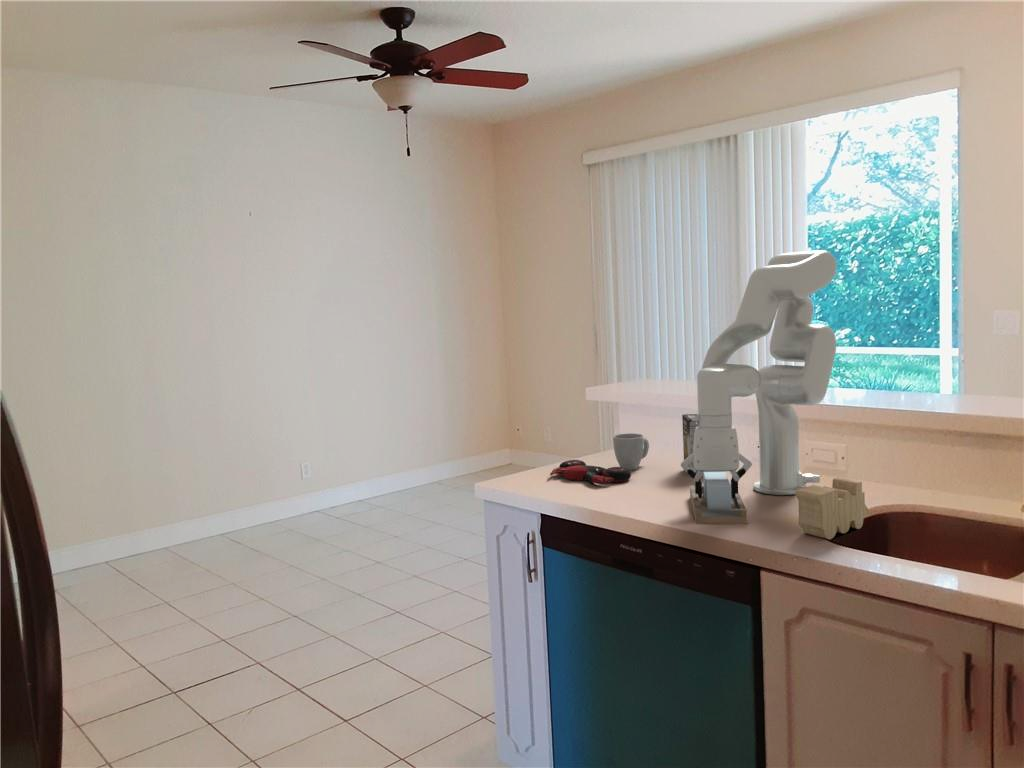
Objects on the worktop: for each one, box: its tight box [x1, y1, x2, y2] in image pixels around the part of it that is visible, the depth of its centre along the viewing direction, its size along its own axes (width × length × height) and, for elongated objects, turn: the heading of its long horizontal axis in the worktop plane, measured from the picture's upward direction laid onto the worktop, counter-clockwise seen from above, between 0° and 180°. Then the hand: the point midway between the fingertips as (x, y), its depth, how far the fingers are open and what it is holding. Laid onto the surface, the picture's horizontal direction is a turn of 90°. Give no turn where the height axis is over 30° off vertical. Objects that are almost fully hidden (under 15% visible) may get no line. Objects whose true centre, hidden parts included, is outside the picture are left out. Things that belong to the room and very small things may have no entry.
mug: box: [612, 432, 650, 471], centre depth 231 cm, size 12×9×10 cm
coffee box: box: [681, 413, 703, 477], centre depth 220 cm, size 9×6×16 cm
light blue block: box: [702, 471, 732, 509], centre depth 183 cm, size 16×5×6 cm, turn 170°
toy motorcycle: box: [549, 459, 632, 485], centre depth 221 cm, size 25×5×16 cm
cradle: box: [689, 485, 748, 525], centre depth 183 cm, size 22×11×3 cm, turn 170°
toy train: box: [794, 477, 870, 540], centre depth 163 cm, size 6×17×10 cm, turn 124°
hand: (716, 496), depth 183 cm, fingers open, 7 cm apart
